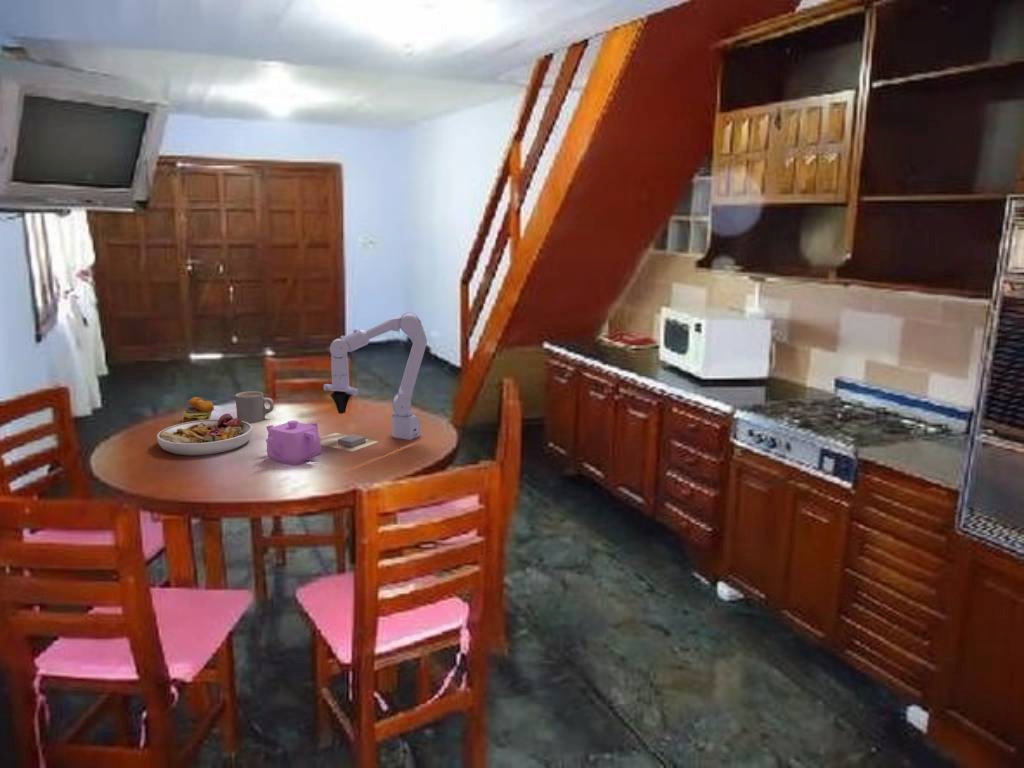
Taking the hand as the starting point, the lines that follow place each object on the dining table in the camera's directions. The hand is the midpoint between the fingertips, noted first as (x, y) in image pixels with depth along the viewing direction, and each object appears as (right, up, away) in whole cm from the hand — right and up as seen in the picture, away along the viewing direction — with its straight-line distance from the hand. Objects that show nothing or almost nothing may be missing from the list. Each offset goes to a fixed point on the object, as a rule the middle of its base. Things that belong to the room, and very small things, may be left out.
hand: (341, 412), depth 257 cm
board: (+1, -11, -3) cm, 11 cm away
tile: (+2, -9, -4) cm, 10 cm away
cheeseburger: (-60, -4, +26) cm, 66 cm away
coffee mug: (-39, -4, +28) cm, 48 cm away
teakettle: (-12, -14, -17) cm, 25 cm away
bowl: (-45, -11, -3) cm, 47 cm away
